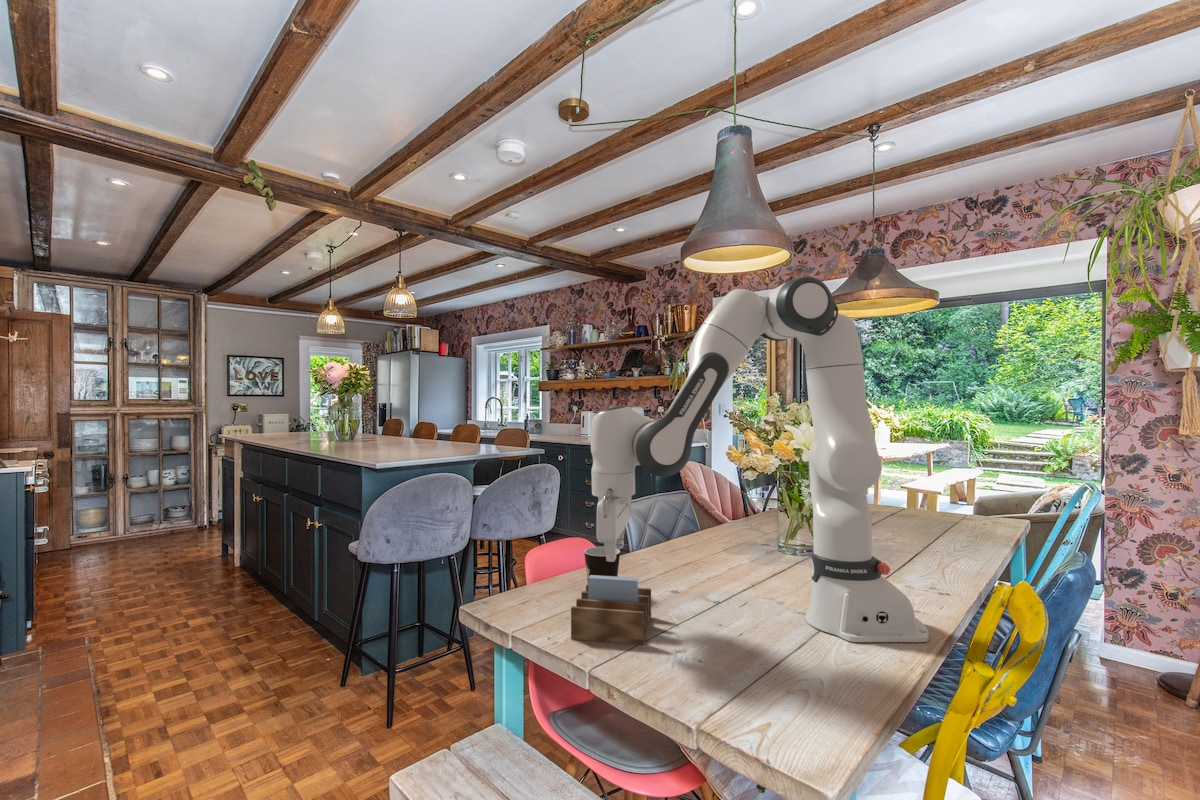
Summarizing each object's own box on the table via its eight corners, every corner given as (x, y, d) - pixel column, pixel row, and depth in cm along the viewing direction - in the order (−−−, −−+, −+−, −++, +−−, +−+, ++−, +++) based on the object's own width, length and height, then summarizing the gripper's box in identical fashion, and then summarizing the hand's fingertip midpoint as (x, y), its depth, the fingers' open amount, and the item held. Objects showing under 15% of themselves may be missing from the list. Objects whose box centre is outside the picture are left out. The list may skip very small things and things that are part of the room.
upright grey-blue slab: (638, 622, 112) (638, 577, 112) (637, 626, 110) (637, 581, 110) (590, 618, 114) (590, 574, 114) (588, 622, 112) (588, 577, 112)
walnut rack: (651, 616, 118) (651, 588, 118) (643, 645, 104) (643, 613, 104) (586, 612, 120) (586, 584, 120) (571, 638, 107) (571, 607, 107)
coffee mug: (616, 600, 127) (616, 557, 127) (580, 598, 129) (580, 555, 129) (624, 584, 139) (624, 544, 139) (591, 582, 140) (591, 542, 141)
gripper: (620, 494, 101) (622, 569, 101) (635, 479, 122) (636, 542, 121) (587, 494, 103) (589, 568, 103) (607, 479, 123) (608, 541, 123)
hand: (615, 554), depth 112 cm, fingers open, 8 cm apart
